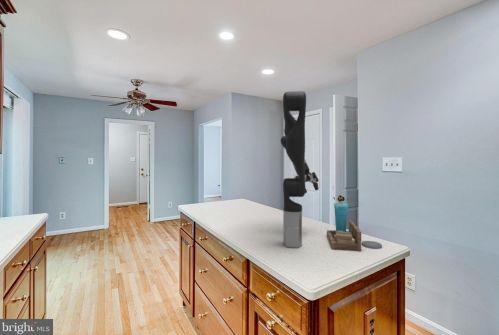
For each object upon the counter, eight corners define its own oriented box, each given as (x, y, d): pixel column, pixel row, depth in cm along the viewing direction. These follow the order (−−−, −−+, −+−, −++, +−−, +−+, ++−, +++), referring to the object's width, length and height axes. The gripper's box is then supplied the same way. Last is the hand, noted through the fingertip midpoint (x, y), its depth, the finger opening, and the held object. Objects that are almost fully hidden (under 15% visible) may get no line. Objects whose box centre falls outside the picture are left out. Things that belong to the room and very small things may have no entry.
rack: (361, 251, 116) (361, 232, 116) (331, 249, 119) (332, 230, 118) (351, 236, 137) (351, 220, 137) (326, 235, 140) (327, 219, 139)
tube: (345, 237, 136) (345, 202, 135) (349, 240, 131) (350, 204, 130) (332, 238, 135) (332, 202, 134) (336, 241, 130) (336, 204, 129)
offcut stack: (355, 249, 119) (355, 236, 118) (336, 248, 120) (336, 235, 120) (351, 243, 127) (351, 231, 127) (333, 242, 129) (333, 230, 129)
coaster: (384, 249, 118) (384, 247, 118) (364, 248, 120) (364, 246, 120) (378, 243, 127) (378, 241, 127) (359, 241, 129) (359, 240, 129)
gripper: (294, 164, 137) (305, 191, 132) (313, 160, 144) (325, 186, 139) (287, 169, 143) (297, 196, 138) (306, 166, 150) (316, 191, 145)
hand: (311, 191), depth 139 cm, fingers open, 8 cm apart
